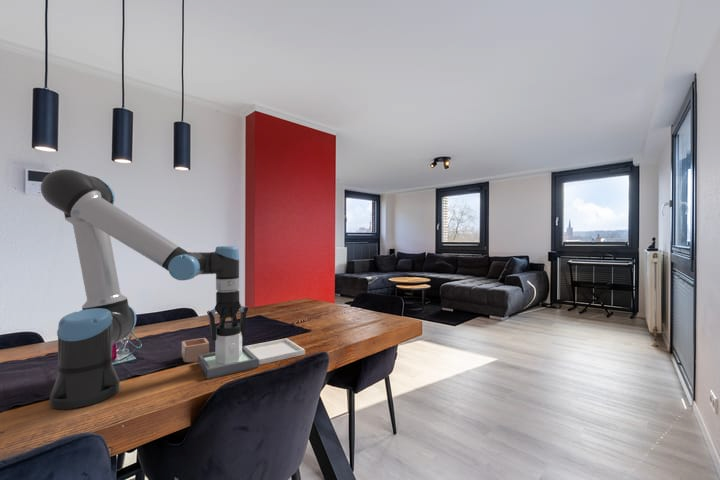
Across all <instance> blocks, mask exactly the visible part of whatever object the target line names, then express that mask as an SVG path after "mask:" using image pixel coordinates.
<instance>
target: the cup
mask: <svg viewBox="0 0 720 480" xmlns="http://www.w3.org/2000/svg"><path fill="white" fill-rule="evenodd" d="M206 353H210V341H208V339H207V338H206V337H201V338H195V339H188V340H182V341H181V357H182V361H183V362H184V363H197V362H198V355H201V354H206Z"/></svg>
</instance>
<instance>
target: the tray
mask: <svg viewBox="0 0 720 480" xmlns="http://www.w3.org/2000/svg"><path fill="white" fill-rule="evenodd" d="M244 346H245V347H246V348H247V349H248V350H249V351H250V352H251V353H252V354H253V355H254V356H255V357H257V358H258V366H259V365H265V364H269V363H274V362H278V361H279V362H280V361H282V360H286V359H292V358H295V357H300V356H304V355H306V348H305V349H304V348H303V347H301V346H300V345H298V344H297V343H295V342H293V341H292V340H291V339H289V338H286V337H285V338H281V339H276V340H271V341H270V340H269V341H266V342H264V341H263V342H261V343H260V342H259V343H255V344H250V345H244Z"/></svg>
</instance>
